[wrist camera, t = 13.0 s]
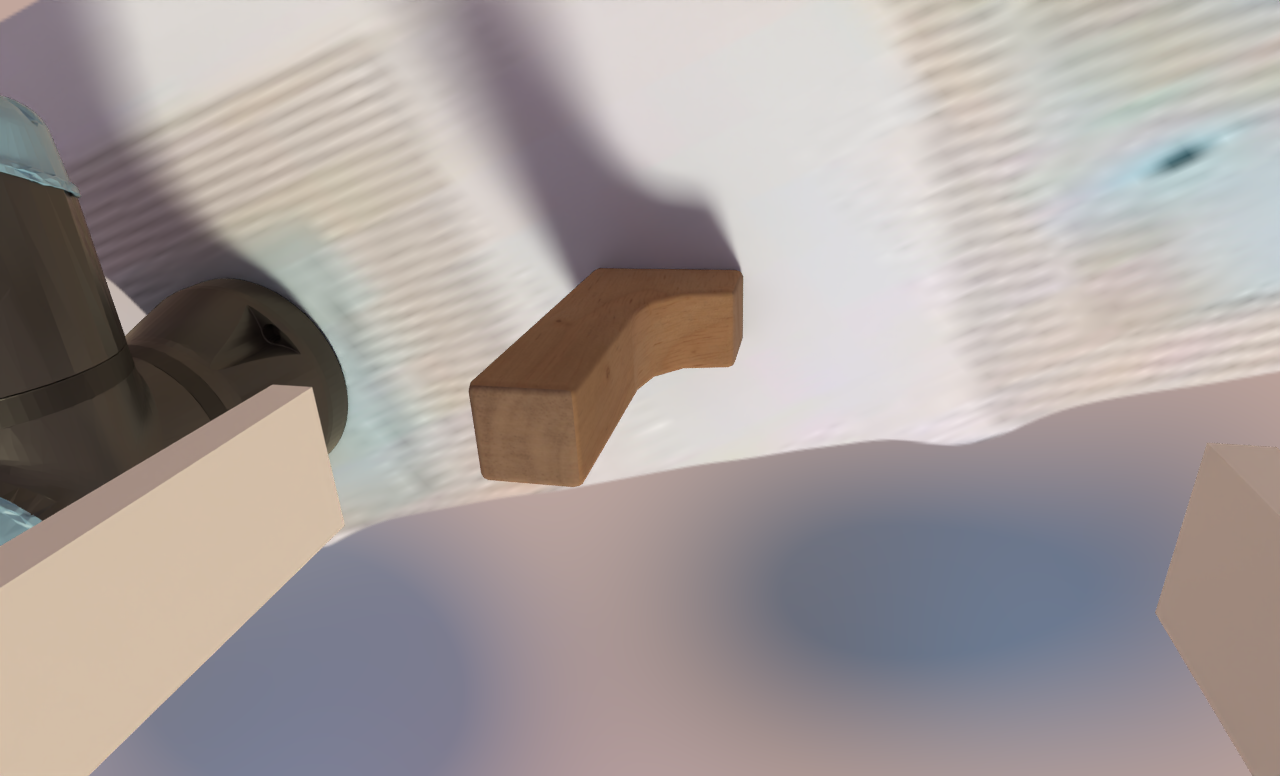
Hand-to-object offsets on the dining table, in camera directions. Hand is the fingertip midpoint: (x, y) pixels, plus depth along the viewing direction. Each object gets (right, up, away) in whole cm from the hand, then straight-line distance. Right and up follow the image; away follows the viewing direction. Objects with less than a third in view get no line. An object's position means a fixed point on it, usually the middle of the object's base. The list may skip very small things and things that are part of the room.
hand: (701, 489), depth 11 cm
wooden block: (+1, +7, +33) cm, 34 cm away
